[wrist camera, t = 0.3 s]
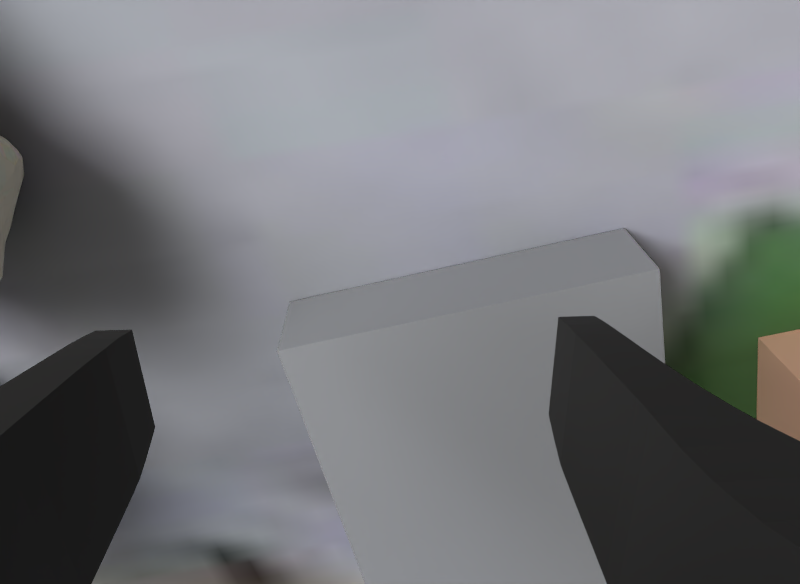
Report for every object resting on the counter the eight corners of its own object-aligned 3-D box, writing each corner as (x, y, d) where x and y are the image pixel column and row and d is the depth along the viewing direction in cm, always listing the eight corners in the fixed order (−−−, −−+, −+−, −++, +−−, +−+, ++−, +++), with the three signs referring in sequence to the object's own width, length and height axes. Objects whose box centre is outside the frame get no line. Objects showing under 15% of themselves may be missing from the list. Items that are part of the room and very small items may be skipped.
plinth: (648, 519, 27) (677, 582, 24) (383, 567, 28) (383, 633, 25) (624, 227, 21) (659, 269, 18) (289, 302, 22) (276, 351, 19)
